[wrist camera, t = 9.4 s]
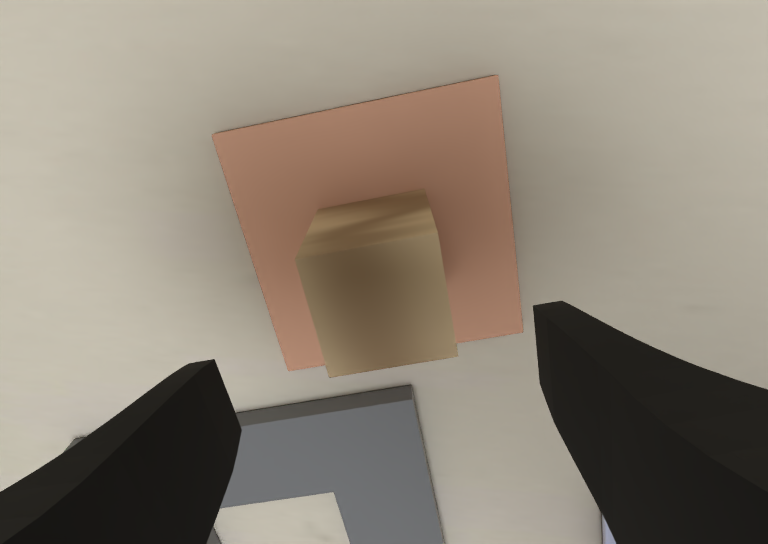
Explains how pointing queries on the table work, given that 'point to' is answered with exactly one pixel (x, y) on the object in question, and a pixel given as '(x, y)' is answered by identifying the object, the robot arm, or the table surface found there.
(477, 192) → the pad
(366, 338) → the oak block
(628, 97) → the table surface
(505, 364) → the table surface
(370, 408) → the pocket board
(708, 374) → the robot arm
